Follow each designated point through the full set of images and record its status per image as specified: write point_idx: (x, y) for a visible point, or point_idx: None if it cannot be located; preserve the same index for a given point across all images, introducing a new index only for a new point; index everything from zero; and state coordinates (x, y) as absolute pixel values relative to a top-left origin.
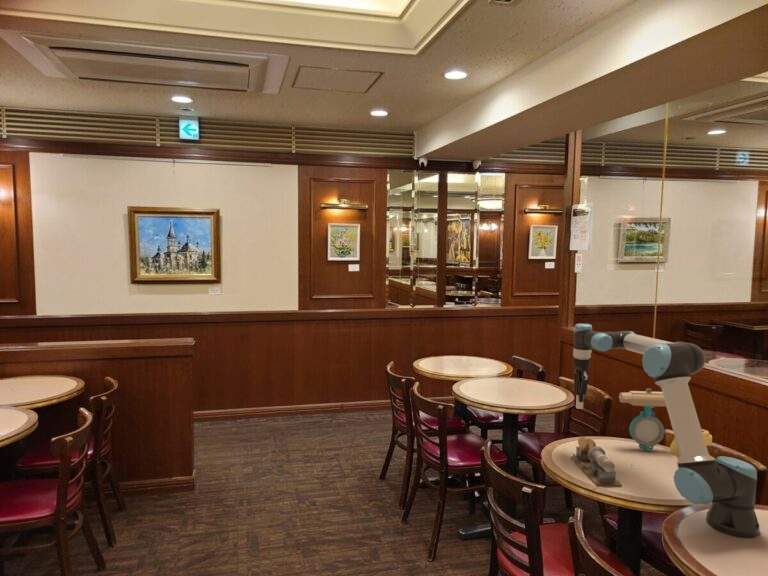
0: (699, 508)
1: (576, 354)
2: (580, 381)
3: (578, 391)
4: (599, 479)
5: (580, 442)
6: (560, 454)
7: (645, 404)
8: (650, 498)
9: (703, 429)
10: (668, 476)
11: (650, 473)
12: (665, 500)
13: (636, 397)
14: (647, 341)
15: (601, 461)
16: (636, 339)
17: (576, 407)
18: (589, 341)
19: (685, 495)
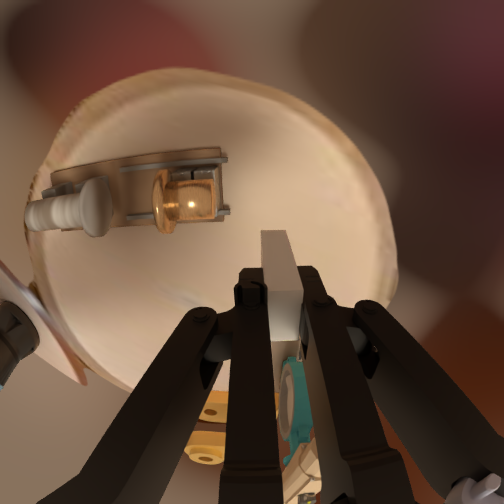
0: (44, 319)
1: None
2: (225, 461)
3: (259, 322)
4: (59, 184)
5: (160, 176)
6: (257, 124)
7: (291, 462)
8: (43, 264)
9: (216, 463)
10: (147, 343)
11: (152, 320)
12: (46, 286)
13: (297, 472)
14: None
15: (39, 203)
16: None
17: (274, 232)
18: None
19: None
